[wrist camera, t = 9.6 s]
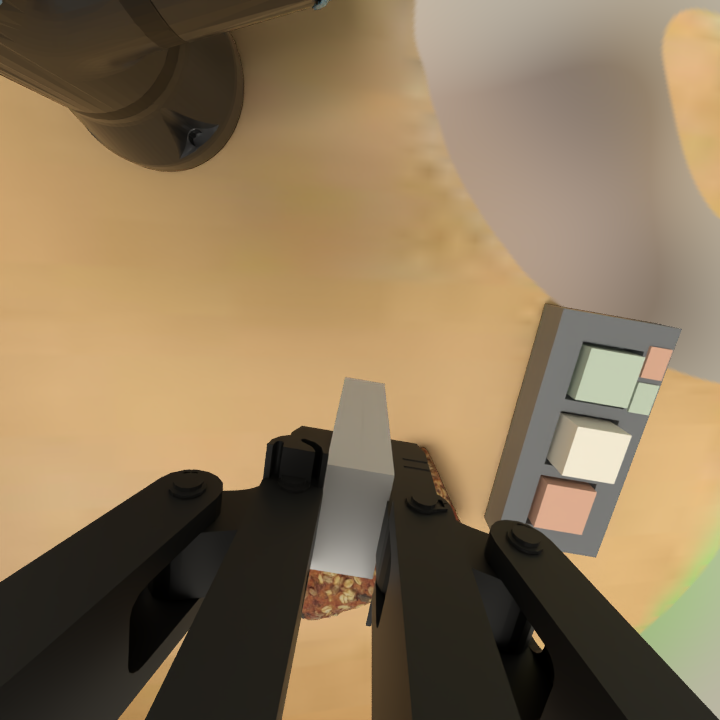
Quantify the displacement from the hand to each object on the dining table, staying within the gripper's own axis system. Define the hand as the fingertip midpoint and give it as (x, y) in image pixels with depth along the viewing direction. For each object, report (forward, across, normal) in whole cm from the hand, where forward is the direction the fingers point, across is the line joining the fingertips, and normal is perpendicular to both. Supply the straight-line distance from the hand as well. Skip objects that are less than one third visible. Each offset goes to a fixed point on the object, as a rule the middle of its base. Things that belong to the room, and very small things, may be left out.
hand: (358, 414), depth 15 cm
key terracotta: (+25, +23, -15) cm, 37 cm away
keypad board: (+26, +23, -8) cm, 36 cm away
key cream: (+23, +23, -8) cm, 34 cm away
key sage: (+25, +23, -1) cm, 34 cm away
